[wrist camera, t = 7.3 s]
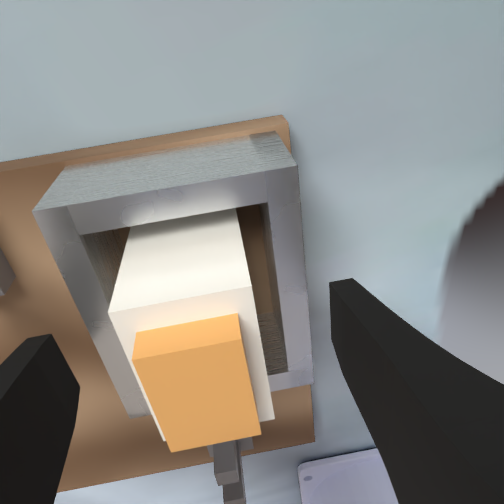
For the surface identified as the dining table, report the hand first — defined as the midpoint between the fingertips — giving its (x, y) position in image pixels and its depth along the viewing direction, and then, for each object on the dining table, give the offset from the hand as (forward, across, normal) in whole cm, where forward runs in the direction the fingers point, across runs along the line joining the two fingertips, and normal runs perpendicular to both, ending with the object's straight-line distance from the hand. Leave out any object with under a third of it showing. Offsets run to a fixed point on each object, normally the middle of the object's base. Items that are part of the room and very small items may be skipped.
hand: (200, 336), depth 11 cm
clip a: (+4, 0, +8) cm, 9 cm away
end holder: (+4, 0, 0) cm, 4 cm away
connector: (+4, 0, 0) cm, 4 cm away
